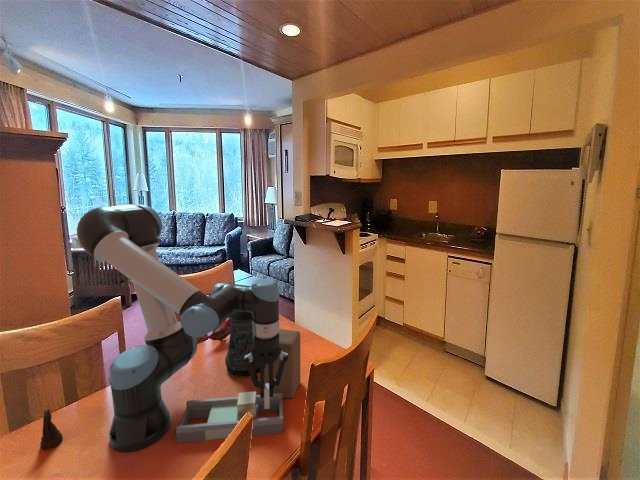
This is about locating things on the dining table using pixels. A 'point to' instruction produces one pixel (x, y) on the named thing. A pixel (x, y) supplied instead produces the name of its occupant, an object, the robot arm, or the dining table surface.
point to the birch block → (246, 404)
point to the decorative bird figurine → (220, 332)
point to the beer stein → (240, 344)
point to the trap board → (226, 418)
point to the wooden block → (287, 364)
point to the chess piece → (50, 433)
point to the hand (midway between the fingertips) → (267, 405)
